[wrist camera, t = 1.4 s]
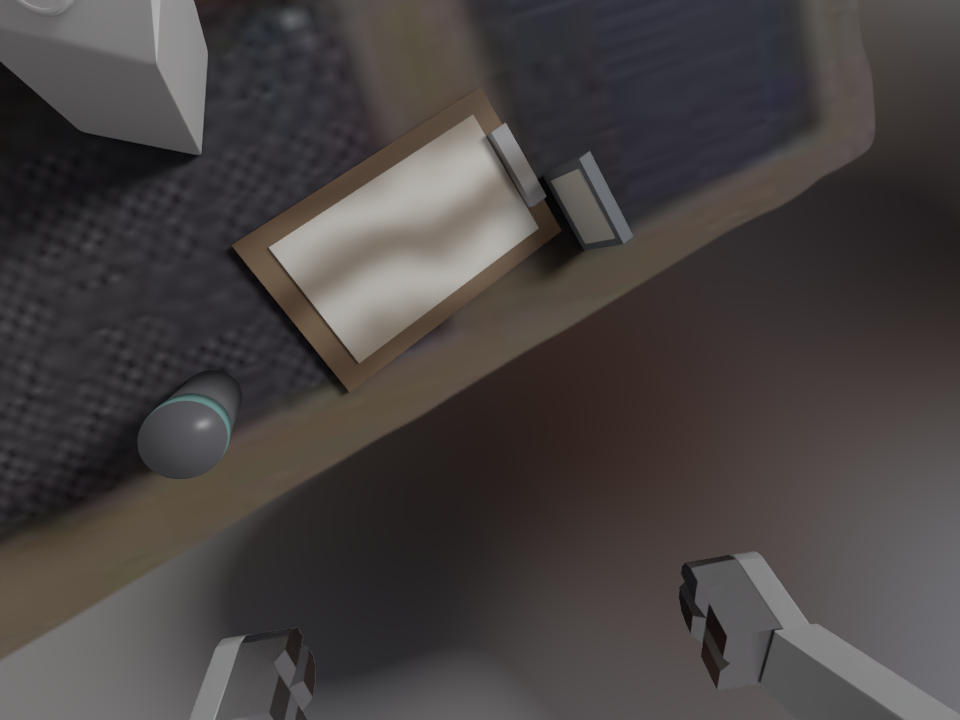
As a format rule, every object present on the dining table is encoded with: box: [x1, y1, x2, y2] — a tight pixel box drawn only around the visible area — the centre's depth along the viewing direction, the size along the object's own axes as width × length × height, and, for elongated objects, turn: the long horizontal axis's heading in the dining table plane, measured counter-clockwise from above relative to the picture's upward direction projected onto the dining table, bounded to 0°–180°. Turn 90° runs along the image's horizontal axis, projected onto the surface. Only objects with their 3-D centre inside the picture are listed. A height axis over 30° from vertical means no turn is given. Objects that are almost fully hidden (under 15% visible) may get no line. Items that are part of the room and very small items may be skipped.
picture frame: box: [543, 151, 633, 250], centre depth 45 cm, size 8×1×6 cm, turn 35°
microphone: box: [137, 370, 242, 479], centre depth 32 cm, size 4×4×13 cm
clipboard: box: [231, 87, 562, 392], centre depth 41 cm, size 14×24×2 cm, turn 125°
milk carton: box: [0, 0, 208, 155], centre depth 26 cm, size 7×7×19 cm
